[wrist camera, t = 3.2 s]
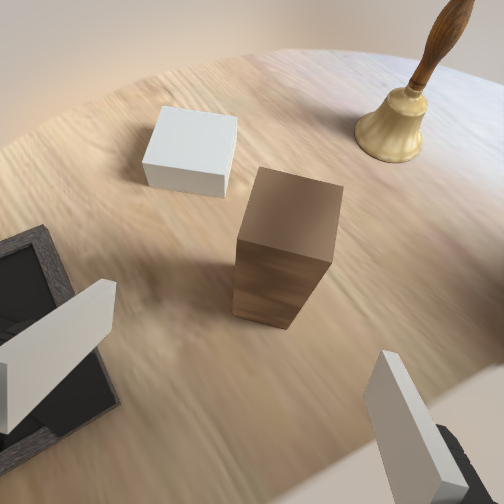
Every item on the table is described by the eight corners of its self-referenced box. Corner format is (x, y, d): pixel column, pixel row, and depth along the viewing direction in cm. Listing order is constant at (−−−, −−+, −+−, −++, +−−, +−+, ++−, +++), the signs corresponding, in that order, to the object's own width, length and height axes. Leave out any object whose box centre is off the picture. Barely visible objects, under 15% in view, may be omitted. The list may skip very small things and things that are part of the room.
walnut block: (296, 278, 32) (343, 186, 19) (286, 329, 29) (332, 262, 17) (246, 265, 32) (259, 166, 20) (232, 315, 30) (237, 238, 17)
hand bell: (340, 129, 41) (401, -25, 27) (386, 105, 44) (464, -47, 30) (388, 174, 38) (484, 29, 24) (434, 146, 41) (545, 0, 27)
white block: (236, 144, 39) (237, 116, 36) (224, 199, 36) (224, 175, 32) (168, 134, 39) (162, 105, 36) (150, 188, 36) (141, 162, 32)
